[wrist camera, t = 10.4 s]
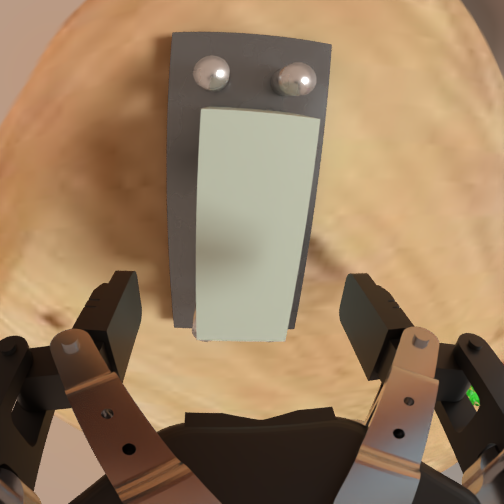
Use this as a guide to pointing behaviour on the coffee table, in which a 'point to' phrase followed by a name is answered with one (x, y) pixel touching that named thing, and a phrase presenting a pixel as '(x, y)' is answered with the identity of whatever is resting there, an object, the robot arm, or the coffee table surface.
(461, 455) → the robot arm
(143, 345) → the coffee table surface
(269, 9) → the coffee table surface
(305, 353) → the coffee table surface
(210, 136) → the block
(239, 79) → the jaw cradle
